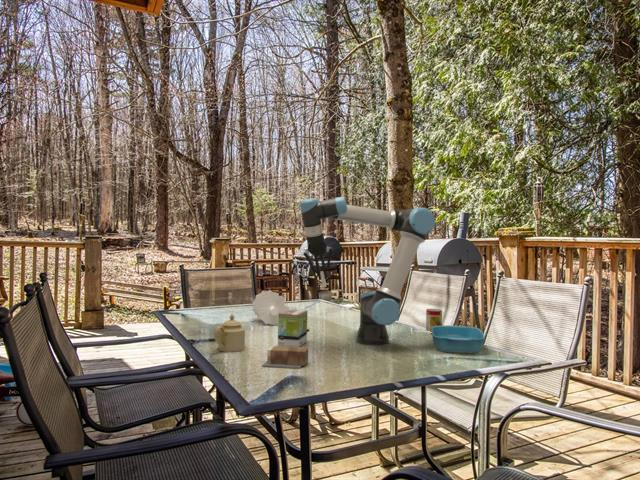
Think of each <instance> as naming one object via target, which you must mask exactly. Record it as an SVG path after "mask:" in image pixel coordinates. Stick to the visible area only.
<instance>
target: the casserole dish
mask: <svg viewBox="0 0 640 480" xmlns="http://www.w3.org/2000/svg"><path fill="white" fill-rule="evenodd" d="M431 332H432V334H431V335H432V336H431V337H432V341H433V343H434V346H435V347H436V349H438V350H439V351H440V352H443V351H444V353H456V354H457V353H459V354H477V353H479V352H481V349H482V348H483V346H484V342H485V338H486V336H485V334H484V332H483V331H482V329H480V328H478V327H475V326H464V325H451V324H449V325H447V324H445V325H442V326H433V327H432V328H431Z"/></svg>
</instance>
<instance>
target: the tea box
mask: <svg viewBox="0 0 640 480" xmlns="http://www.w3.org/2000/svg"><path fill="white" fill-rule="evenodd" d="M277 325H278V326H277V346H283V347H301V346H303V345H304V344H305V343H307V340H308V310H306V309H305V310H304V309H300V310H299V309H289V310H286V311H283V312H281V313H279V322H278V324H277Z"/></svg>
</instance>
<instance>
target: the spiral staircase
mask: <svg viewBox="0 0 640 480" xmlns="http://www.w3.org/2000/svg"><path fill="white" fill-rule="evenodd" d="M252 304H253V308H252V311H253V312H254V315H255V316H256V319H258V320H259V321H260V320H261V321H262V322H263V323H264V324H265V325H272V326H276V325H278V322H279V313H281V312H283V311H286V310H290V307H289V306H288V305H287V306H286V305H285V304H286V302H285V299H284V297H283V296H282V295H279V294H278V293H277V292H275V291H274V292H273V291H272V290H270V289H269V290H268V291H267V290H261V292H260V293H258V294H256V295H255V298H254V299H253V301H252Z"/></svg>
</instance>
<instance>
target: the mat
mask: <svg viewBox="0 0 640 480" xmlns="http://www.w3.org/2000/svg"><path fill="white" fill-rule="evenodd" d="M261 366H262V368H279V369H280V368H281V369H298V370H299V369H302V367H303V365H285V364H267V361H266V362H264V363H263V364H262V365H261Z"/></svg>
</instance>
